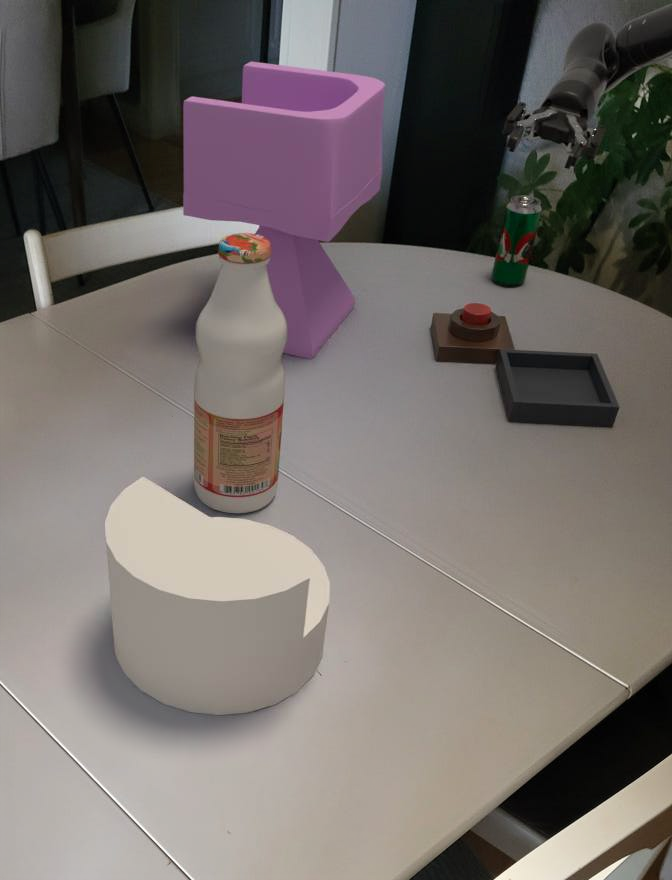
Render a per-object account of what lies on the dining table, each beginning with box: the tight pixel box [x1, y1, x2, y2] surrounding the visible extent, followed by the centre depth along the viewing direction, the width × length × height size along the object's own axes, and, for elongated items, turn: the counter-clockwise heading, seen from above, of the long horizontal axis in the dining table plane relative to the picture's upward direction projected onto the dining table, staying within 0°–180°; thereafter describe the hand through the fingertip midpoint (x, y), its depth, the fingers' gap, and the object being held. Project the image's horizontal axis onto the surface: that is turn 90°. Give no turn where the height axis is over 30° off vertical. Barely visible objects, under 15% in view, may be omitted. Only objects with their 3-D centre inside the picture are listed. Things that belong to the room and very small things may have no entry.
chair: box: [182, 61, 386, 360], centre depth 130 cm, size 20×20×30 cm
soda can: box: [491, 195, 543, 287], centre depth 146 cm, size 5×5×12 cm
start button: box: [462, 302, 492, 326], centre depth 132 cm, size 4×4×2 cm
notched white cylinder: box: [104, 476, 331, 716], centre depth 88 cm, size 20×20×13 cm
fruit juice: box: [193, 232, 287, 514], centre depth 100 cm, size 9×9×28 cm
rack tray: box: [494, 349, 620, 428], centre depth 124 cm, size 13×14×3 cm
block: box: [430, 307, 516, 365], centre depth 134 cm, size 10×10×4 cm
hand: (540, 154), depth 143 cm, fingers open, 8 cm apart
